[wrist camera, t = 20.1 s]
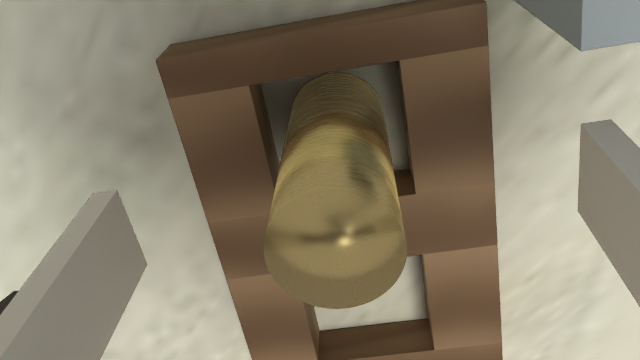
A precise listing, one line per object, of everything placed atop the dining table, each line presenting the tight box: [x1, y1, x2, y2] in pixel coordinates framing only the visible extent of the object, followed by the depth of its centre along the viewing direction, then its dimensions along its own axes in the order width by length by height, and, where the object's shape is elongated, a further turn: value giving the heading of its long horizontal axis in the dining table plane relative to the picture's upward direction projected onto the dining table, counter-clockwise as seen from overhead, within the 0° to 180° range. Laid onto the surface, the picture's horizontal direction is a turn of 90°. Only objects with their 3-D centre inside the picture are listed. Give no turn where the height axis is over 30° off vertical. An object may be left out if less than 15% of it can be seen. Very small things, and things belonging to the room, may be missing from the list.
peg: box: [264, 73, 407, 309], centre depth 19 cm, size 4×4×9 cm
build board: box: [156, 0, 503, 360], centre depth 23 cm, size 16×11×2 cm
